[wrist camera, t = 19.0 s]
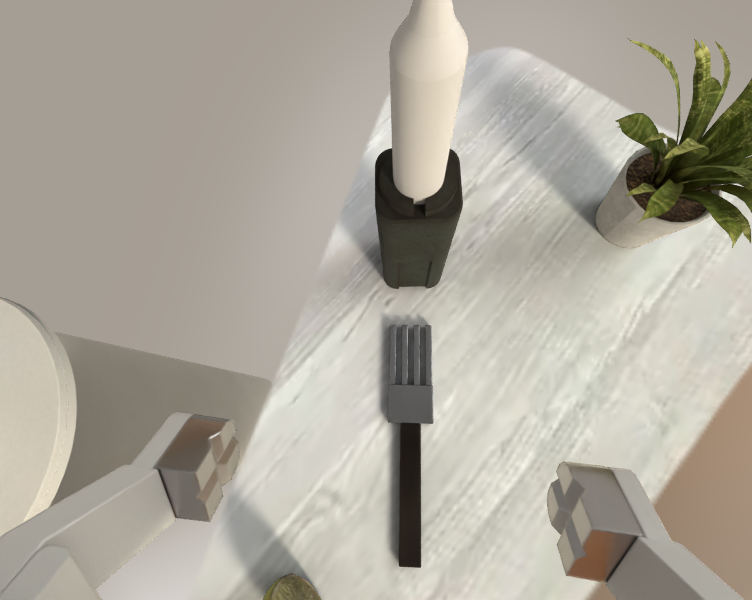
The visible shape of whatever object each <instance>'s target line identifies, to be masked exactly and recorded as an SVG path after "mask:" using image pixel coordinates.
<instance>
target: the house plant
mask: <svg viewBox="0 0 752 600" xmlns="http://www.w3.org/2000/svg"><path fill="white" fill-rule="evenodd" d="M630 41H632V40H630ZM632 42H633V43H635V44H637V45H639V46H640V47H642V48H644V49H645V50H647V51H648V52H650V53H652V54H653V55H655V56H656V57H657V58H658V59H659V60H660V61H661V62H662V63H663V64H664V65H665V66H666V68H667V69H668V70H669V71H670V73H671V75H672V77H673V80H674V81H675V85H676V90H677V97H678V110H679V111H678V112H679V119H678V134H677V141H675V140H674V139H672V138H670V137H668V136H666V135H665V134H664V133H658V130H657V128H656V126H655V125H654V123H653V122H652V121H651V119H650V118H649V117H648V116H646V115H644V114H643V113H635V114H631V115H628V116H626V117H623V118H621V119H619V120H616V122H619V124H620V126H619V127H621V130H622V132H623V133H624V134H625V135H626V136H628V137H629V138H631V139H632V140H634V141H636V142H638V143H640V144H642V145H644V146H645V147H644V148H642V149H640V150H638V151H636V152H635V153H634V154H633V155H632V156H631V157H630V158H629V159H628V160H627V162H626V164H625V165H624V167H623V169H622V170H621V172H620V173H619V175H618V177H617V178H616V180H615V182H614V183H613V185H612V187H611V188H610V190H609V191H608V193H607V195H606V196H605V198H604V200H603V201H602V203H601V205H600V206H599V208H598V210H597V212H596V217H595V219H596V225H597V228H598V230H599V232H600V233H601V234H602V236H603V237H604V238H605V239H607V240H608V241H609V242H611V243H613V244H615V245H617V246H621V247H625V248H633V247H638V246H641V245H644V244H646V243H649V242H651V241H654V240H656V239H659V238H661V237H664V236H666V235H669V234H671V233H674V232H677V231H679V230H682V229H684V228H687V227H689V226H692V225H694V224H697V223H699V222H701V221H703V220H704V219H706V218H708V217H709V216H710V215H712V217H713V218H714V219H715V221H716V222H717V223H718V224H719V225H720V226H721V227H722V228H723V229H724V230H725V231H726V232H727V233H728V234H729V236H730V238H731V239H732V241H733V245H732V248H733V246H734V244H735V242H736V241H737V239H738V238H739V236H740V235H741V233H742V232H743V233H744V235H745V236H746V238H747V239H748V240H749V241H750V243H751V229H750V225H749V223H748V220H747V219H746V218H745V217H744V216H743V215H742V213H741V212H740V211H739V210H738V209H737V207H735V206H734V205H733V204H731V203H730V202H728V201H727V200H725V199H724V198H722V197H721V195H722V191H724V192H727V193H729V194H732V195H735V196H737V197H738V198H740V199H741V200H742V201H744V202H745V203H746V205H747V206H748V208H749V209H750V211H751V212H752V156H751V157H748V156H750V155H752V79H751V81H750V82H749V84H748V85H747V87H746V88H745V89H744V91H743V92H742V93H741V94H740V96H739V97H738V98H737V99H736V101H735V102H734V103H733V104H732V105H731V106H730V107H729V108H728V109H727V110H726V111H725V112H724V113H723V114H722V115H721V116H720V117H719V119H718V120H717V121H716V122H715V123H714V124H713V125H712V127H711V128H710V129H709V130H708V131H707V132H706V134H705V135H704V136H703V134H704V132H705V130H706V128H707V126H708V124H709V122H710V120H711V118H712V117H713V115H714V113H715V111H716V109H717V107H718V105H719V103H720V101H721V99H722V97H723V95H724V92H725V90H726V88H727V84H728V81H729V77H730V63H729V60H728V58H727V55H726V53H725V51H724V50H723V48H722V47H721V46H720V45H719V44H718V43H717V42H716V44H717V46H718V48H719V49H720V52H721V54H722V57H723V60H724V66H725V70H724V81H723V85H722V89H721V85H720V83H719V82H718V80H716V79H715V78H712V77H711V68H710V67H711V61H710V53H709V50H708V48H707V47H706V46H705V44H704V43H703V42H702V41H701V44H702V48H701V46H700V45H699V43H698V42H697V41H696V40H695V51H694V52H695V57H696V67H695V71H694V76H693V100H692V105H691V108H690V112H689V115H688V118H687V121H686V124H685V127H684V131H683V134H682V137H681V139H680V142H679V144H678V145H677V143H678V136H679V127H680V89H679V82H678V76H677V73H676V71H675V68H674V67H673V64H672V62H671V61H670V60H669V59H668V58H667V57H666V56H665V55H664V54H662V53H661V52H659V51H657V50H656V49H654V48H652V47H650V46H648V45H646V44H644V43H641V42H637V41H632ZM702 136H703V137H702ZM663 138H667V144H665V143H664V140H663ZM745 157H748V158H745ZM736 183H738V184H740V185H742V186H744V187H741V186H737V185H733V184H736ZM721 184H724V185H721Z"/></svg>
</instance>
